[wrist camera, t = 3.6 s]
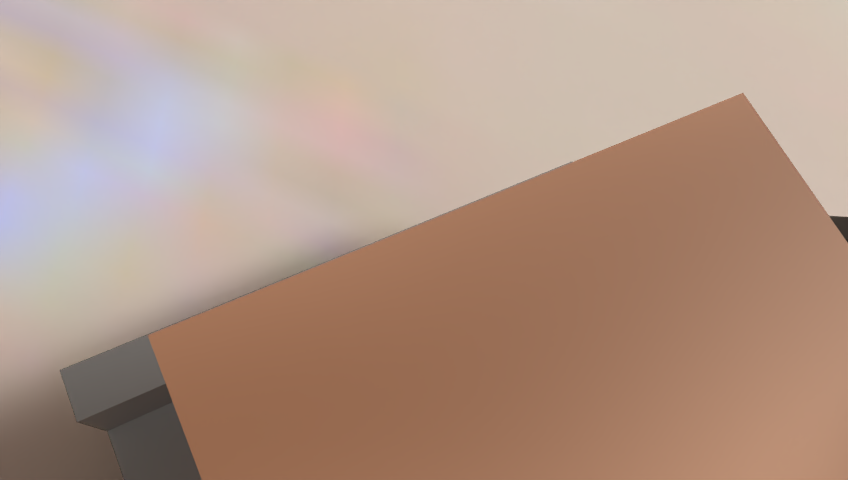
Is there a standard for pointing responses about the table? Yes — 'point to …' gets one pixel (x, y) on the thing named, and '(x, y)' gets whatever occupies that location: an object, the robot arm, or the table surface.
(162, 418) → the charcoal u-shaped frame
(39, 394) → the table surface
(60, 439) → the table surface
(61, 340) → the table surface
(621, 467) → the terracotta block
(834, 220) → the robot arm
